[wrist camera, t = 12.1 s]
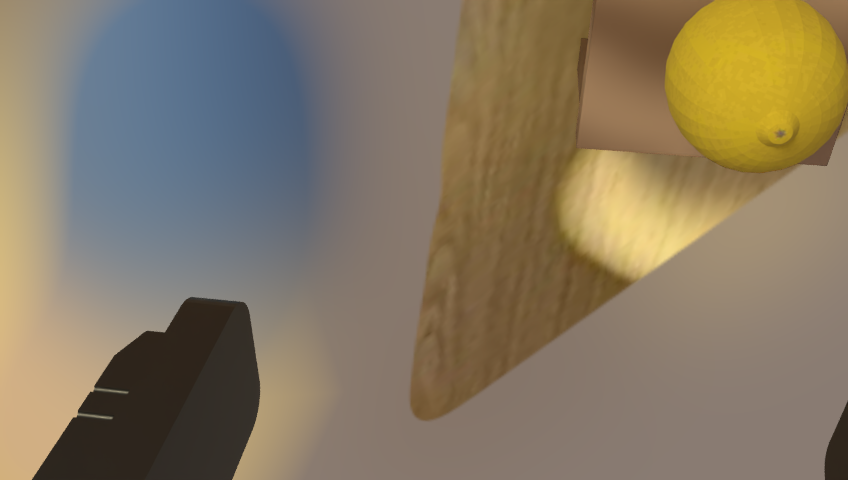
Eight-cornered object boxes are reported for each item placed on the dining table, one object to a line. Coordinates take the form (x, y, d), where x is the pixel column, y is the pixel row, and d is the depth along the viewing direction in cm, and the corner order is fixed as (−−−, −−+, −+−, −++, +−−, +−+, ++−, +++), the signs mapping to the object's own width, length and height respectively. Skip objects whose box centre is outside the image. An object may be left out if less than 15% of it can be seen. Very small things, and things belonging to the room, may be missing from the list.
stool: (600, -148, 34) (611, -110, 27) (845, -140, 33) (917, -98, 26) (572, 73, 40) (576, 147, 33) (780, 85, 38) (827, 165, 32)
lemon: (830, -33, 28) (917, 52, 21) (783, 111, 31) (846, 223, 24) (670, -45, 28) (707, 34, 22) (640, 98, 31) (664, 205, 25)
